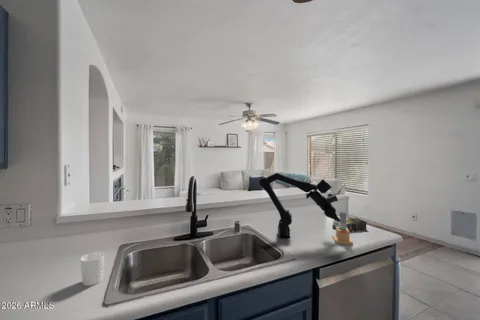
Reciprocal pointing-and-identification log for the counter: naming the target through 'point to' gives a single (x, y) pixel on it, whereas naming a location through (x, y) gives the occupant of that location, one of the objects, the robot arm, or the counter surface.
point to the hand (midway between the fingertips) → (338, 218)
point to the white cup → (92, 268)
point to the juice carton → (352, 224)
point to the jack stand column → (342, 220)
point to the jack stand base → (342, 237)
